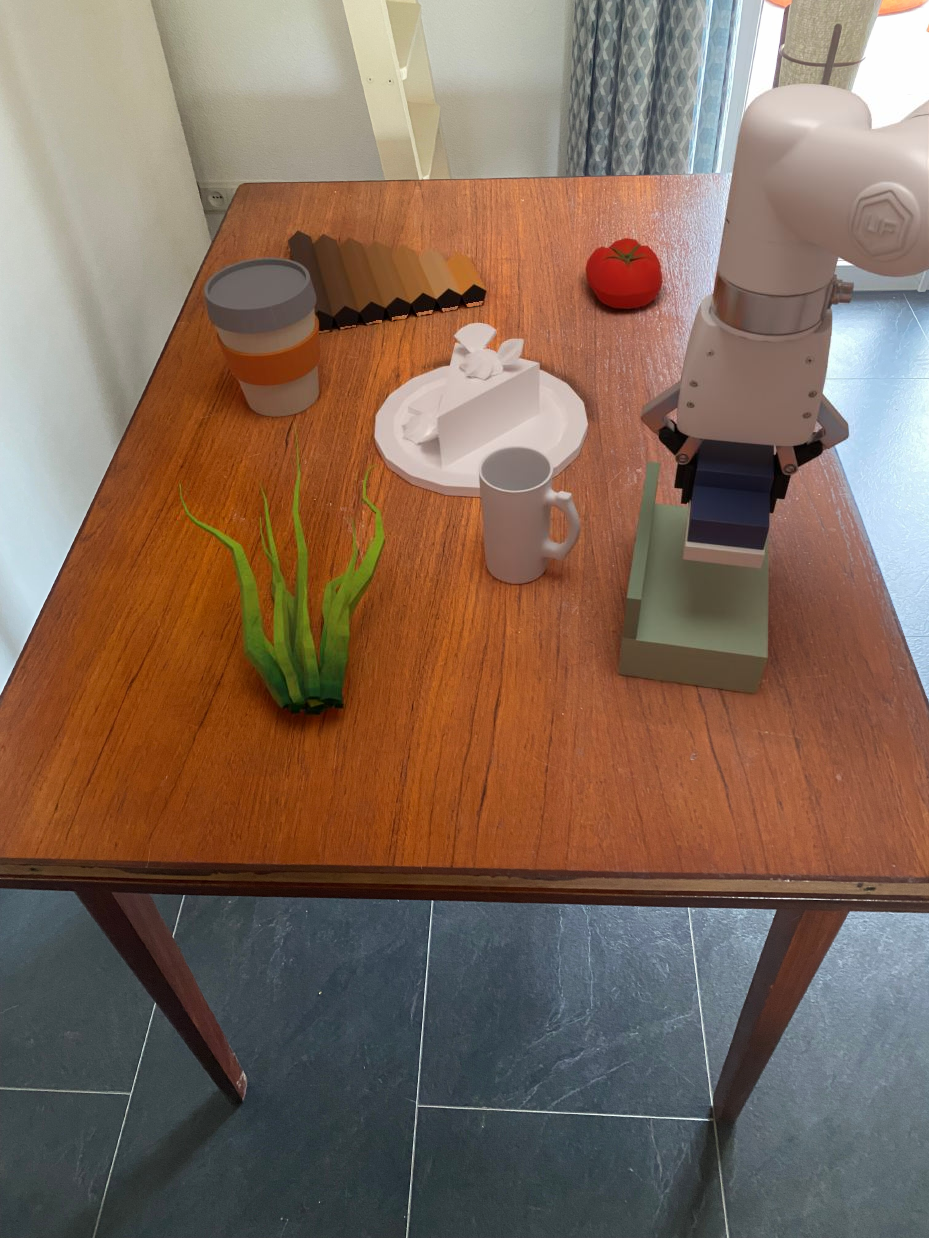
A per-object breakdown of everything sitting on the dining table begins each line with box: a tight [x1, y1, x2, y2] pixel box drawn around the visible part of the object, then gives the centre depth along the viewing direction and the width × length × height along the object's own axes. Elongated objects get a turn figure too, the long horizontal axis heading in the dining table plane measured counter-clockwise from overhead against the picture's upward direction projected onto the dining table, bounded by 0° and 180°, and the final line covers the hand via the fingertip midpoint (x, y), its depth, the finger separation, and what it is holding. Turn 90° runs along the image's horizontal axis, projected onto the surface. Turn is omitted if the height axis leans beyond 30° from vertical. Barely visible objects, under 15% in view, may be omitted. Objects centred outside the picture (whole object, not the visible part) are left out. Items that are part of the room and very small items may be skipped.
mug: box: [479, 446, 581, 585], centre depth 86 cm, size 10×7×12 cm, turn 59°
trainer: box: [683, 439, 775, 568], centre depth 74 cm, size 14×6×6 cm, turn 167°
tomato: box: [584, 237, 663, 310], centre depth 123 cm, size 10×11×6 cm
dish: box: [374, 322, 589, 498], centre depth 103 cm, size 25×25×11 cm
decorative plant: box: [178, 422, 386, 716], centre depth 84 cm, size 18×30×15 cm, turn 169°
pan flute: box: [287, 230, 488, 331], centre depth 132 cm, size 25×3×25 cm
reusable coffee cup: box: [203, 257, 321, 418], centre depth 108 cm, size 13×13×15 cm
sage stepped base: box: [617, 461, 770, 695], centre depth 82 cm, size 12×18×10 cm, turn 167°
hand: (727, 496), depth 75 cm, fingers closed on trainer, 6 cm apart
